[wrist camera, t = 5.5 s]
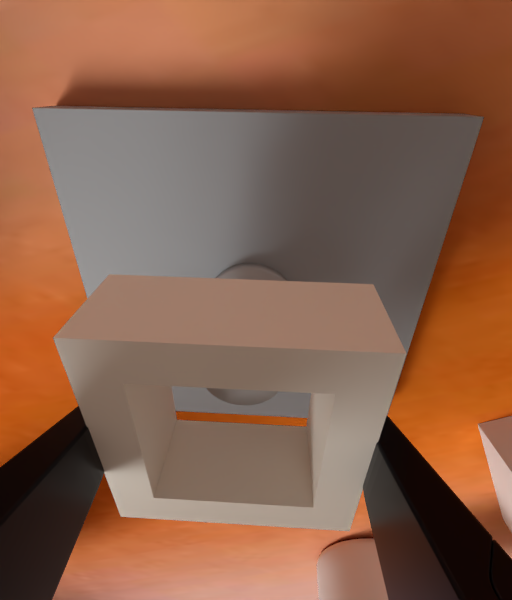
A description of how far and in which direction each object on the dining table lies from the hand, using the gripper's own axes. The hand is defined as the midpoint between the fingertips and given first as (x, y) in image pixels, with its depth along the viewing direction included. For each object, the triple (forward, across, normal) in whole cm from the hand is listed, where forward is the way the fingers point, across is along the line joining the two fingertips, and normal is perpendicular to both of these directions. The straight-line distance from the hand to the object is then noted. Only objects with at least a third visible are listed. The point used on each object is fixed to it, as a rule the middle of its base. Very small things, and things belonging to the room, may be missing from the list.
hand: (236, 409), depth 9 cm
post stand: (+6, 0, 0) cm, 6 cm away
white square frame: (+1, 0, 0) cm, 1 cm away
